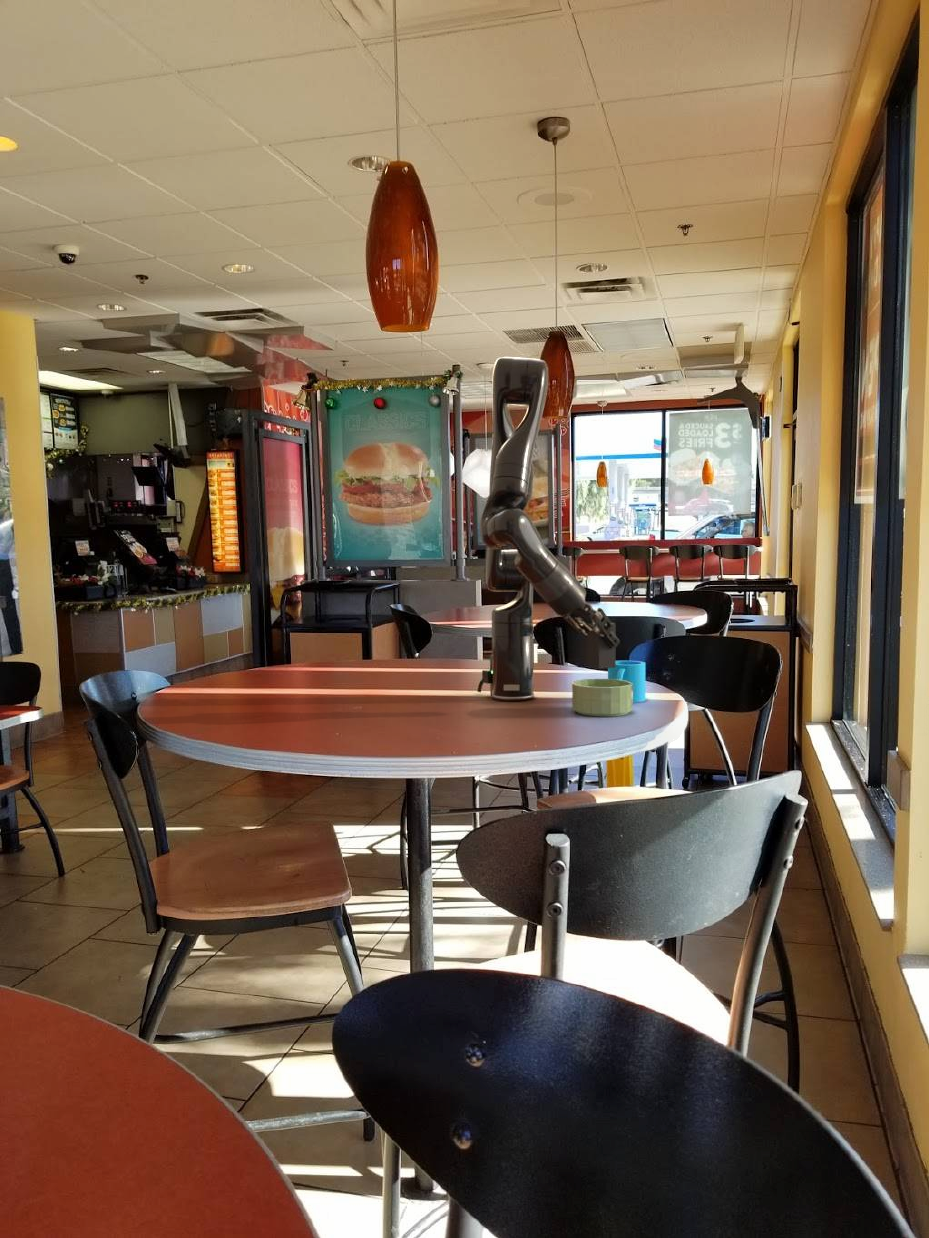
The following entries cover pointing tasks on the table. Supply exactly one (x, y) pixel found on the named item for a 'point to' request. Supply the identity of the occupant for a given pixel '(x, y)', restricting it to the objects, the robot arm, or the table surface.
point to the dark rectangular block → (600, 651)
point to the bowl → (602, 697)
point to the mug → (631, 676)
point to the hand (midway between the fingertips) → (609, 644)
